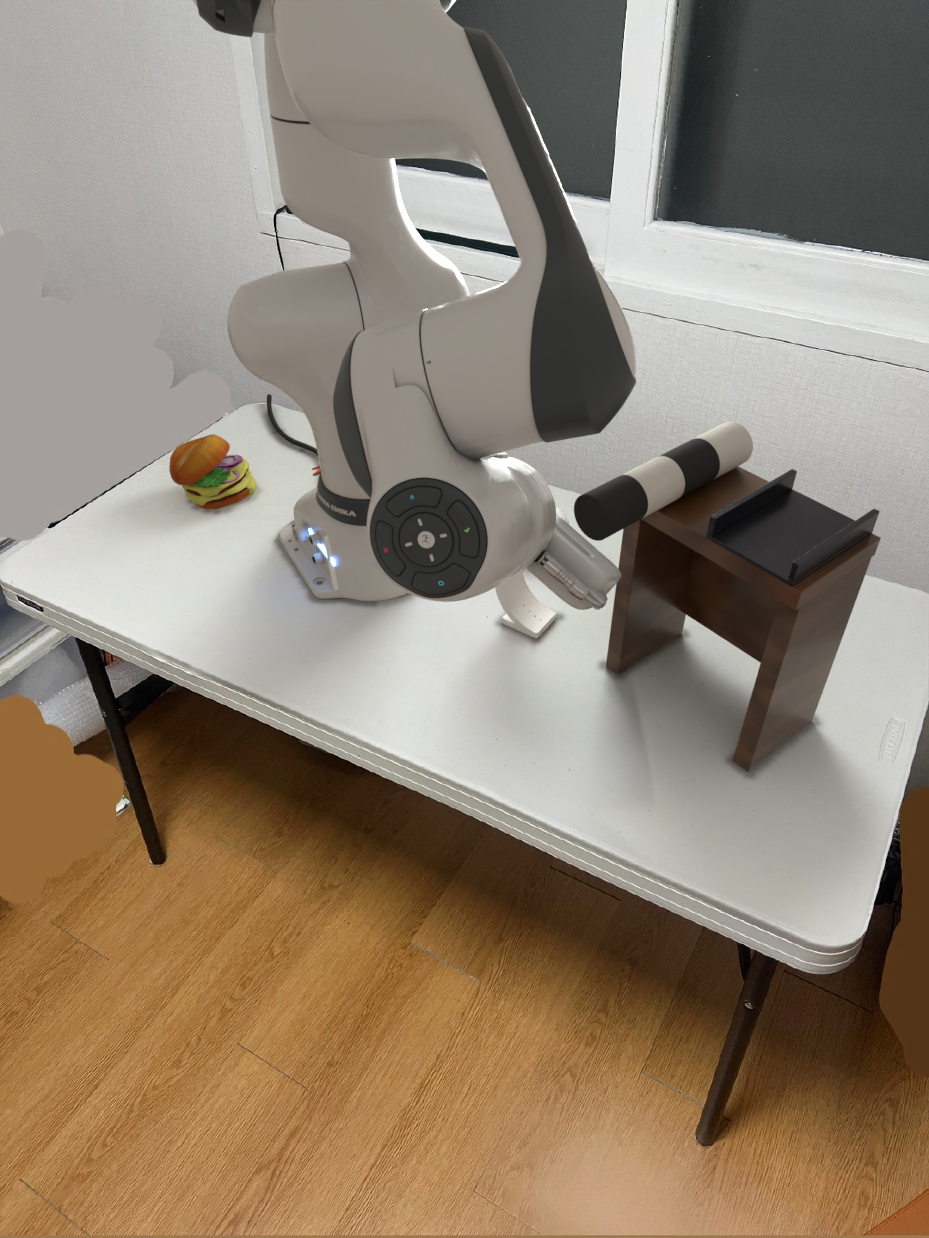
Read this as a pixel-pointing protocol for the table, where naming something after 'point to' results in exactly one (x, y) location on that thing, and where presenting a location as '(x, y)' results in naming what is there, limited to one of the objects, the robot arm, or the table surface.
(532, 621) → the headphone stand
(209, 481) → the cheeseburger
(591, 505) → the roll
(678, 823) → the table surface
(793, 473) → the tray
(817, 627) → the shelf
